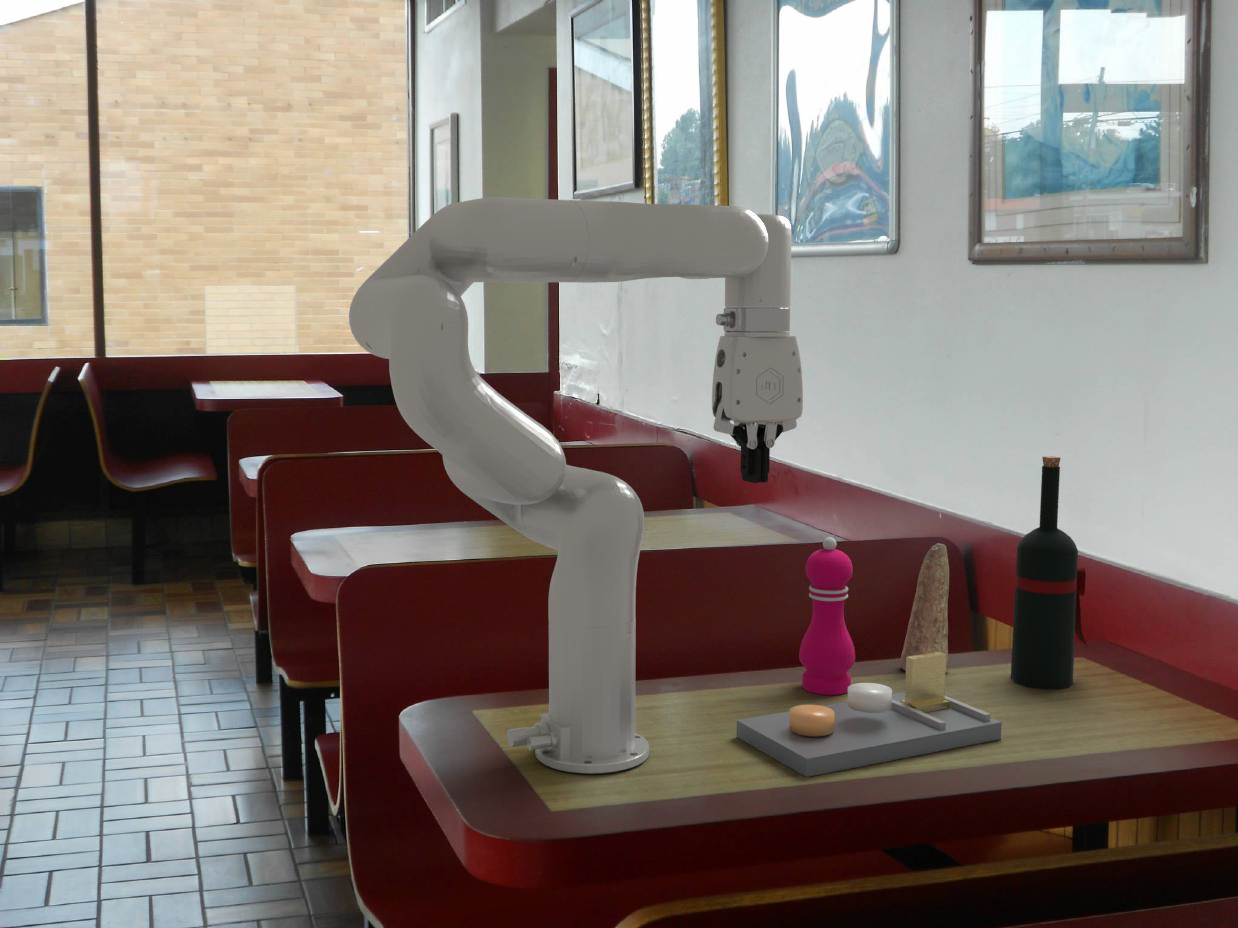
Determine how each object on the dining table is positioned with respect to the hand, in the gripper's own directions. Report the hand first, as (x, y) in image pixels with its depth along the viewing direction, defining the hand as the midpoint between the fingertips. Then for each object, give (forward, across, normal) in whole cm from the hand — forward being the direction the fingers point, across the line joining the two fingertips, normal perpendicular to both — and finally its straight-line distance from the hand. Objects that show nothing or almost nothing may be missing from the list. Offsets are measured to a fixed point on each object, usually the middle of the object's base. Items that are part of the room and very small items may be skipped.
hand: (754, 481), depth 148 cm
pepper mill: (+29, +16, +7) cm, 34 cm away
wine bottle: (+29, +45, -3) cm, 54 cm away
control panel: (+29, +9, -11) cm, 32 cm away
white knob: (+25, +9, -11) cm, 29 cm away
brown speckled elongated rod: (+29, +33, +8) cm, 45 cm away
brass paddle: (+27, +18, -10) cm, 34 cm away
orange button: (+27, +1, -11) cm, 29 cm away
